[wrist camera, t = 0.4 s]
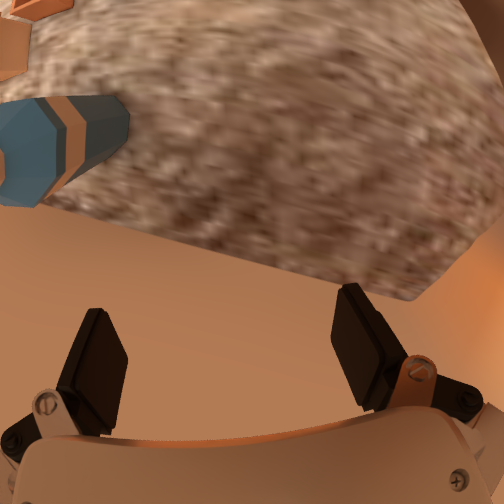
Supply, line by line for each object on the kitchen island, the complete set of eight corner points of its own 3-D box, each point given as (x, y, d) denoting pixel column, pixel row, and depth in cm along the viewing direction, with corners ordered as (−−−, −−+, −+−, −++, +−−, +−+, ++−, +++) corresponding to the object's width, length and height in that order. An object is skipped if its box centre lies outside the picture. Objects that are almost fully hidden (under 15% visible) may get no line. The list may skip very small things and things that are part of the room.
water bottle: (143, 109, 32) (35, 128, 11) (113, 170, 36) (7, 264, 14) (88, 84, 29) (-48, 88, 7) (62, 144, 32) (-66, 209, 11)
